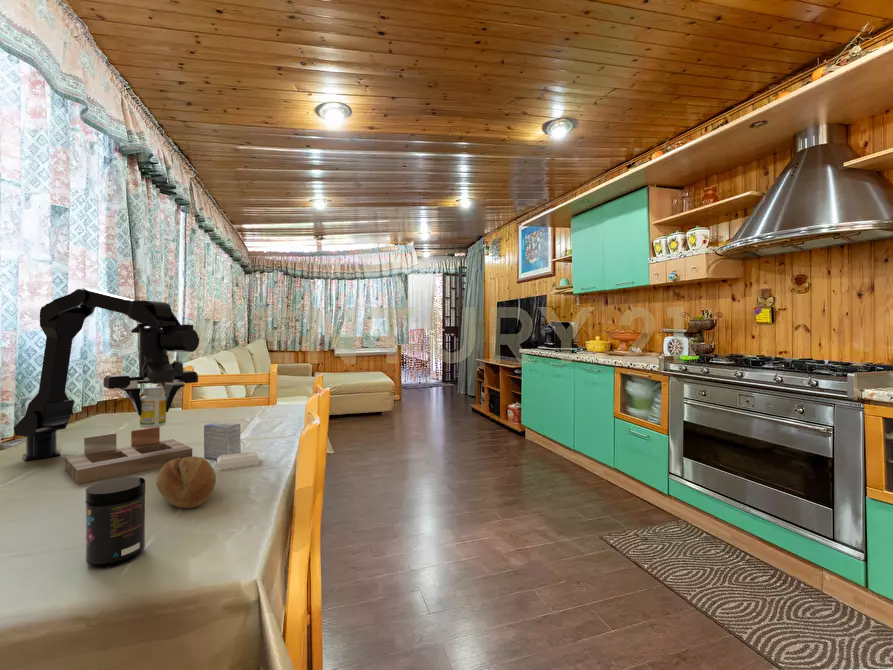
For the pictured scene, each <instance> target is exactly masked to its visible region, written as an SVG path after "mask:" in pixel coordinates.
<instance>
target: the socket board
mask: <svg viewBox="0 0 893 670" xmlns="http://www.w3.org/2000/svg"><path fill="white" fill-rule="evenodd" d="M160 427H161V426H159V427H152V428H140V429H134V430H133V429H132V430H130V436H131V437H130V444H131V445H130V446H123V447H118V448H117V432H112V433H106V434H98V435H91V436H90V435H89V436H84V437H83V438H84V440H83V442H84V443H83V446H84V447H83V453H82V454H76V455H70V456H65V458H64V459H65V461H64V462H65V465H64V468H65V469H64V471H66V473H67V474H68V475H69V476H70V477H71V479H72V481H74V482H75V484H77V485H80V484H85V483H90V482H94V481H95V482H96V481H98V480H104V479H109V478H113V477H119V476H123V475H128V474H133V473H137V472H141V471H142V472H143V471H149V470H151V469H152V470H153V469H158V468H162V467H163V466H164V465H165V464H166V463H167V462H168V461H170V460H174V459H177V458H181V459H183V458H185V457H193V447H191V446H188V445H186V444H184V443H182V442H180V441H178V440H176V439H174V438H171V439H166V440H160V436H161V435H160V431H161V430H160V429H161V428H160Z"/></svg>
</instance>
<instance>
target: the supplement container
mask: <svg viewBox="0 0 893 670" xmlns="http://www.w3.org/2000/svg"><path fill="white" fill-rule="evenodd" d="M145 521H146V478H144V477H140V476H127V477H126V476H125V477H118V478H111V479H107V480H104V481H103V480H102V481H100V482H97V483H94V484H91V485H90V486H88V487H87V488H85V563H86V564H87V566H89V567H90V568H92V567H93V569H97V568H102V569H109V568H108V567H110V568H114V566H115V567H118V565H119V566H121V564H122V565H124V563H125V564H127V563H129V562H131V561H134V560H135V559H136V558H138V557H139V556H140V555H141V554H142V553H143V552H144V550H145V547H146V522H145Z"/></svg>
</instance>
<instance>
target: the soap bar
mask: <svg viewBox="0 0 893 670" xmlns="http://www.w3.org/2000/svg"><path fill="white" fill-rule="evenodd" d="M258 464H259V465H260V457H259V455H258V453H257V452H256V451H248V452H241V453H237V454H229V455H221V456H220V457H219V458H217V459H216V468H217V469H216V470H217V471H223V470H222V469H224V470H230V469H229V468H232V469H236V468H235V467H239V468H242V467H241V466H246V467H249V466H248V465H253V466H259V465H258Z"/></svg>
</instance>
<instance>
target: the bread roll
mask: <svg viewBox="0 0 893 670" xmlns="http://www.w3.org/2000/svg"><path fill="white" fill-rule="evenodd" d="M160 468H161V469H160V470H159V472H158V474H157V477H156V481H155V484H156V485H155V486H156V487H157V490H158V492H159V493H160V495H161V497H162V498H163V499H164V500H165V502H167V503H169V504H171V505H172V506H175V507H178V508H182V509H183V508H185V509H192V508H196V507H199V506H201V505H203V504H204V503H206V501H207V500H208V499H209V498H210V496H211V495H212V493H213V492H214V489H215V486H216V481H217V477H216V475H217V474H216V471H215V469H214V468H213V466H212V464H211V463H210V462H209V461H208V460H207V459H206V458H204V457H202V456H201V457H200V456H192V457H185V458H183V459H181V458H177V459H174V460H170V461H168V462H167V463H166V464H165V465H164V466H162V467H160Z"/></svg>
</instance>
